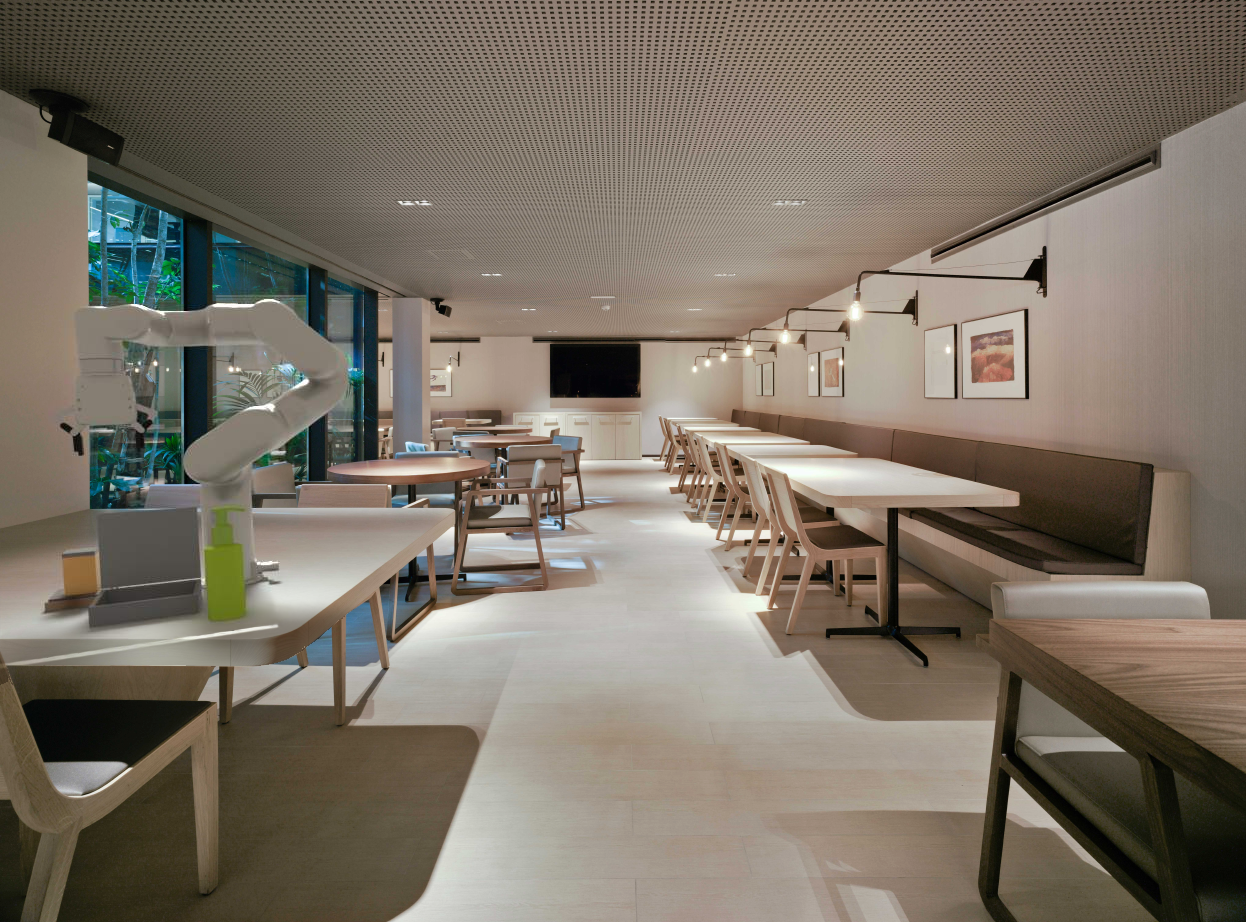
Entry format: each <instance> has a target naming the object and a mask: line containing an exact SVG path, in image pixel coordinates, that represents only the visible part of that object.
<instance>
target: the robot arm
mask: <svg viewBox="0 0 1246 922" xmlns="http://www.w3.org/2000/svg"><path fill="white" fill-rule="evenodd" d="M73 322H74V323H73V324H74V326H73V327H74V332H75V333H74V334H75V342H76V343H75V345H76V353H77V354H76V355H77V362H78V371H79V375H76V376H75V380H74V389H73V390H74V391H73V393H74V396H73V399H74V403H73V405H71V406H68V407H67V408H64V409H62V410H60V411H58V412H56V413H54V414H52V418H53V420H54V421H55V422H56V424H57V425H58V426H59V428H61V430H63V431H64V432H66V433H68V434H69V435H70V436H72V447H73V452H74V453H77V454H78V455H77V456H78V457H82V456H84V455H85V447H84V436H82V433H81V432H83V430H84V429H86V426H88V427H92V426H114V425H115V426H116V425H117V426H119V425H130V426H131V427H132V428H134V430H135V434H134V438H135V439H134V440H135V449H136V453H142V449H146V444H145V432H146V430H148V428H150V427H151V426H152V425H153V423H154V422H155V419H156V417H157V415H158V411H157V410H156V409H153V408H150V407H148V406H145V405H142V404H140V403H137V401H136V395H135V388H134V385H133V381H132V378H131V376H129V375H126V372H128V371H134V364H133V363H129V362H126V361H125V358H124V347H123V342H129V343H130V342H131V343H135V344H141V345H146V346H149V347H203V346H206V347H207V346H209V347H217V346H219V347H220V346H267V347H268V348H270V350H272V351H273V352H274V353H275V354H277V355H278V356H279V357H280V358H282V359H283V360H285V361H286V362H287V363H288V364H289V365H291V366H292V367H293V368H294V369H295V370H297V371H298V372H299V373H300V374H302V375H304V376H305V377H304V379H303V380H301V381H300V382H299V383H298V384H296V385H294V386H292V387H291V388H289V389H288V390H286V391H285V392H284V393H283V394H281V395H280V396H278V397H276V398H275V399H273V400H271V401H270V402H268V403H266V404H264V405H258V406H257V405H255V406H250V407H248V408H244V409H243V410H241V411H239V412H237V413H235V414H234V415H232V416H231V417H229V418H228V419H226V420H224V422H221V424H219V425H218V426H216V427H214V428H213V429H212V430H210V431H208V432H207V433H205V434H203V435H202V436H200V438H198V439H196V440H195V441H194V442H192V443H191V444H190V445H189V446H188V447H187V449H186V451H185V453H184V456H183V461H182V463H183V468H184V471H185V473H186V475H187V476H188V477H189V478H190V479H192V480H193V481H194V482H196V483H199V484H200V500H199V501H200V502H199V503H200V518H201V519H200V521H201V523H200V524H201V534H202V537H201V539H202V551H203V564H204V565H203V568H204V577H203V578H200V579H201V587H202V589H205V590H207V586H206V570H205V554H204V548H205V547H207V546H210V545H212V532H211V527H213V526H214V525H217V523H216V512H213V513H211V509H213V508H218V507H226V506H239V507H245V508H247V509H246V510H245V511H243V512H242V511H227V521H228V524H230V525H233V530H234V543H240V544H242V546H243V563H244V580H245V586H248V585H252V584H256V583H259V582H261V581H263V580H264V578H265V576H264V573H266V572H267V573H268V572H278V571H280V566H279V561H276V562H275V561H274V562H273V561H268V562H267V561H266V562H263V561H262V562H260V561H258V560H257V557H255V556H256V555H255V539H254V524H253V522H254V520H253V519H254V518H253V501H252V499H253V498H252V478H253V475H252V474H253V463H254V462H255V461H257V460H259V459H260V458H261V457H263V456H264V455H266V454H268V453H270V452H272V451H275V450H278V449H280V448H282V447H283V446H285V444H287V442H289V441H290V440H291V439H293V438H294V437H295V436H297V435H298V434H299V433H302V432H303V431H305V430H306V429H307V428H309V427H310V426H312V424H314V423H315V422H316V421H318V420H319V419H321V418H322V417H324V416H325V415H327V413H329V412H330V411H331V410H332V409H333V408H334V407H336V406H337V405H338V403H339V402H340V401H341V400H342V398H343V396H344V395H345V393H346V391H347V387H348V384H349V367H348V362H347V359H346V356H345V355H344V353H343V351H342V350H341V349H340V348H339V347H338V346H336V345H335V344H333V343H331V342H330V341H329V340H328V339H326V338H325V337H323V336H322V335H321V334H319V332H317V331H316V330H314V329H313V327H311V326H309V325H308V324H307V323H306V322H305V321H304V320H302V319H301V318H300V317H299V316H298V315H297V314H296V312H295V311H294V310H293V309H292V308H290V307H289V306H288V305H286V304H285V303H284V302H281V301H278V300H275V299H263V300H260V301H257V302H255V303H254V304H252V303H251V304H246V303H245V304H243V303H242V304H238V303H215V304H210V305H208V306H206V307H205V308H203V309H198V310H190V311H189V310H188V311H172V310H171V311H168V310H167V311H166V310H165V311H164V310H163V311H161V310H155V309H153V308H149V307H146V306H143V305H140V304H134V303H133V304H132V303H131V304H121V305H116V306H107V307H105V306H92V305H91V306H81V307H77V308H76V309H75V310H74V311H73ZM138 411H139V412H142V413H145V414H147V415H148V417H147V418H146V420H145V421H144V422H143V423H142V424H140V423H139V422H138V417H139V416H138ZM72 414H74V417H75V420H76V425H74V426H71V425H70V424H69V423H68V422H67V421H66V420H65V417H67V416H69V415H72Z"/></svg>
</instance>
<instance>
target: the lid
mask: <svg viewBox="0 0 1246 922" xmlns="http://www.w3.org/2000/svg"><path fill="white" fill-rule="evenodd" d="M96 522H97V538H98V539H97V540H98V541H97V542H98V547H99V559H100V576H101V589H105V588H114V587H118V588H124V587H133V586H142V585H151V584H160V583H169V582H178V581H186V580H195V579H202V569H201V568H202V567H201V553H200V536H199V533H200V532H199V518H198V506H189V507H188V506H187V507H174V508H159V509H148V510H147V509H146V510H134V511H133V510H131V511H120V512H119V511H117V512H115V511H114V512H104V513H96Z"/></svg>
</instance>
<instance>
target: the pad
mask: <svg viewBox="0 0 1246 922" xmlns="http://www.w3.org/2000/svg"><path fill="white" fill-rule="evenodd" d="M116 588H119V587H114V588H105V589H101V588H100V590H99V591H98V592H95V593H86V594H78V595H69V596H65V590H64V588H60V589H57V591H56V590H55V592H54V593H53V594H52V595H50V597H49V598H48V599H47V600H46V601H45V602H44V612H46V613H47V612H55V611H63V610H65V611H66V610H72V609H79V608H88V607H89V606H90V605H91V603H92V602H93V600H94V599H95V598H96V596H97V595H98V594H99V592H100V591H101V590H107V589H116Z"/></svg>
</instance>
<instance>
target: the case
mask: <svg viewBox="0 0 1246 922" xmlns="http://www.w3.org/2000/svg"><path fill="white" fill-rule="evenodd" d="M201 579H202V578H194V579H186V580H177V581H168V582H159V583H150V584H141V585H132V586H124V587H118V588H116V589H107V590H101V591H100V592H99V594H98V595H97V596H96V598H95V599H94V600H93V602H92V603H91V605H90V606H89V607H87V612H88V613H87V614H88V615H87V616H88V626H89V628H90V629H91V628H92V629H93V628H99V627H107V626H113V625H122V624H128V623H129V624H130V623H137V622H144V621H145V622H146V621H152V620H153V621H154V620H159V619H167V618H168V619H169V618H174V617H175V618H176V617H182V616H188V615H190V616H191V615H197V614H200V610H201V605H202V599H203V588H202V587H201Z"/></svg>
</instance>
